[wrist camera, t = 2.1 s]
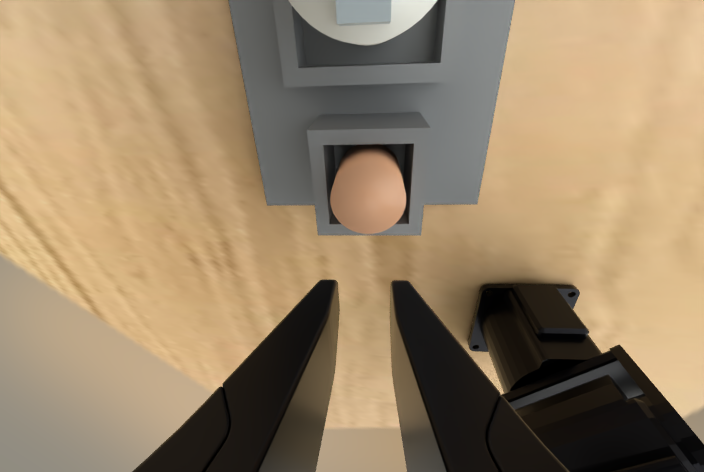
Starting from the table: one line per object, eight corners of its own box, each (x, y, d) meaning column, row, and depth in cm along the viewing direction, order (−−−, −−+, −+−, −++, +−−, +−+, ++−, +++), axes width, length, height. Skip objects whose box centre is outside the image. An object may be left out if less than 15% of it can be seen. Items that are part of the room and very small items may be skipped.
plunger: (399, 201, 16) (404, 234, 13) (339, 202, 16) (332, 234, 13) (401, 141, 14) (408, 164, 12) (336, 142, 15) (327, 165, 12)
